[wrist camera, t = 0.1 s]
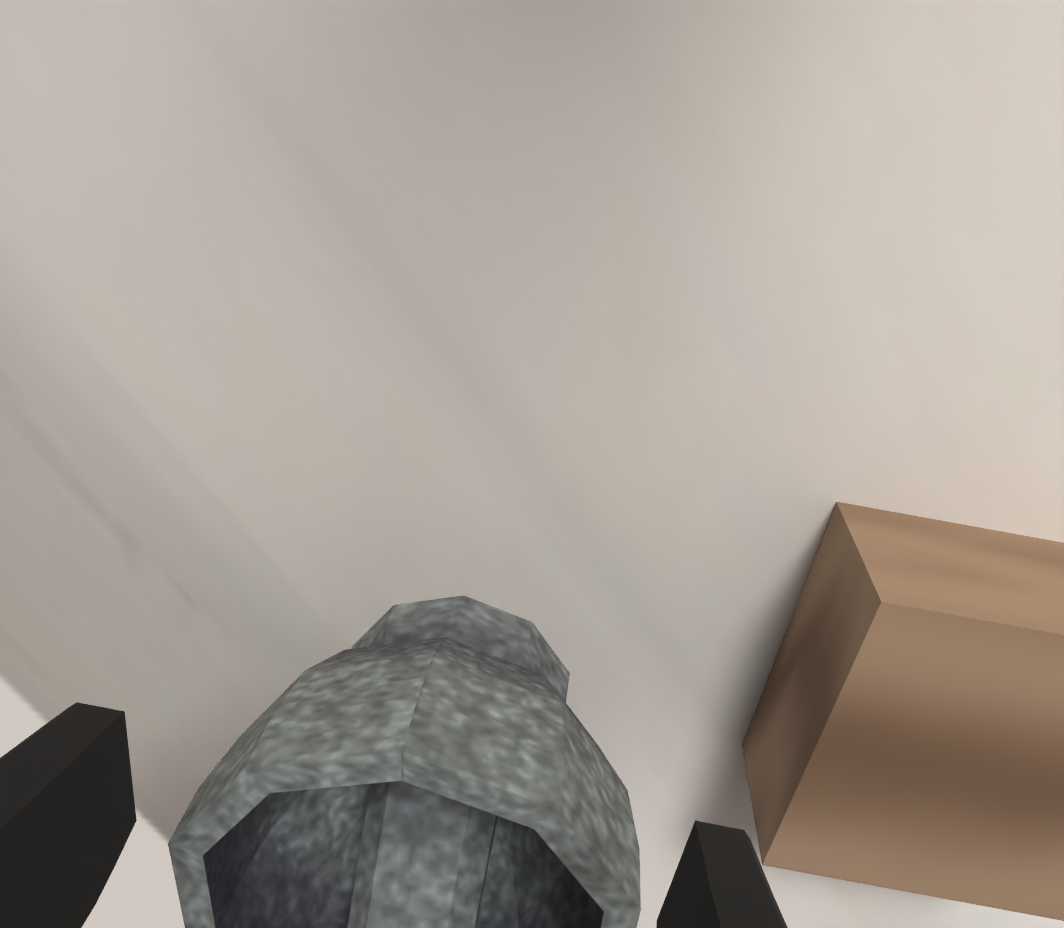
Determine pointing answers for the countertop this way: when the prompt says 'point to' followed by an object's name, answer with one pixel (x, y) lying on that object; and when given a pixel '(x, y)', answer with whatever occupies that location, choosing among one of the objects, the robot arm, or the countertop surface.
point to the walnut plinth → (919, 715)
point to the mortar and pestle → (415, 792)
